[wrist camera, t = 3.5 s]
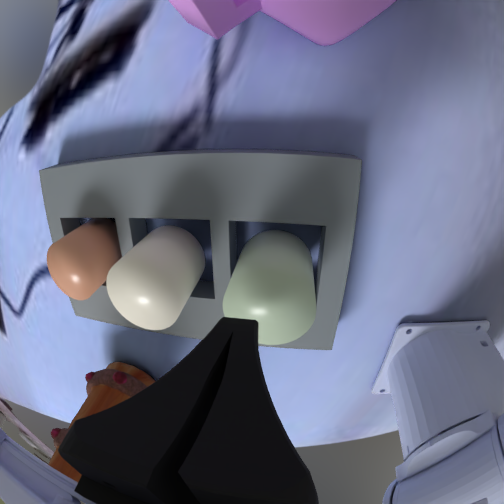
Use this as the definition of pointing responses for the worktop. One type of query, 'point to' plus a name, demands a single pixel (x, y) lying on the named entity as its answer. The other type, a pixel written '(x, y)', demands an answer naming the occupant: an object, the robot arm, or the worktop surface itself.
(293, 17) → the teapot
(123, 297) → the button cream
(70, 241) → the button terracotta
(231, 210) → the panel
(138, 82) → the worktop surface
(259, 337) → the button sage
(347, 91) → the worktop surface
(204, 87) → the worktop surface
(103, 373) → the mug
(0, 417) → the house plant
